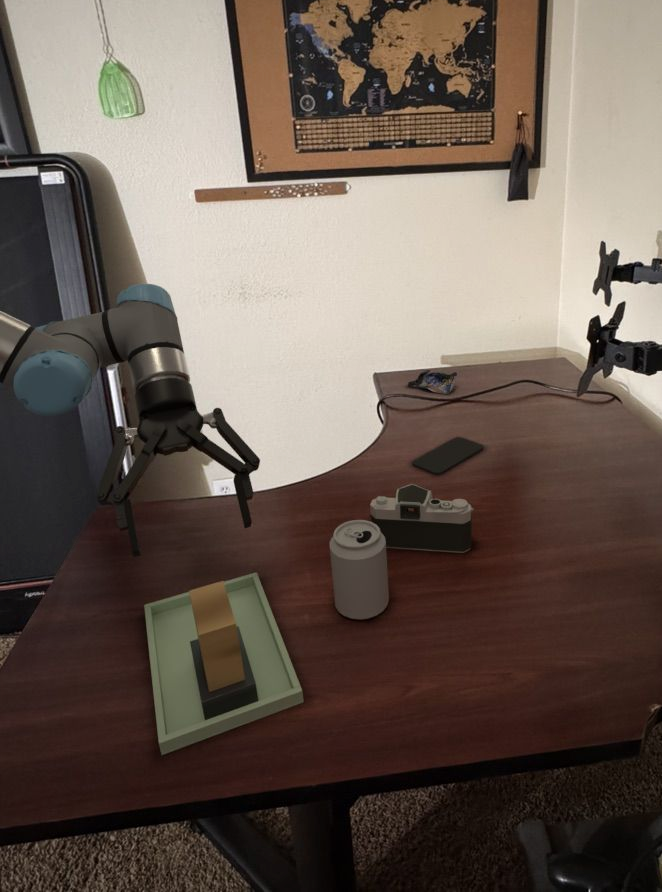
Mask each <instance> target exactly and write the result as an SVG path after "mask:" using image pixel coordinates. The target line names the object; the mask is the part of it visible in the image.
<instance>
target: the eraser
mask: <svg viewBox="0 0 662 892" xmlns="http://www.w3.org/2000/svg"><path fill="white" fill-rule="evenodd" d="M224 582H225V581H224V580H221V581H217V582H214V583H211V584H207V585H203V586H200V587H197V588H194V589H190V590H188V592H189V593H190V599H191V604H192V609H193V614H194V619H195V625H196V630H197V635H198V639H196V640H193V641H190V645H191V651H192V656H193V661H194V666H195V672H196V677H197V682H198V687H199V693H200V698H201V703H202V708H203V713H204V718H205V720H208V719H211V718H213V717H216V716H219V715H222V714H224V713H227V712H230V711H233V710H235V709H238V708H241V707H244V706H246V705H249V704H252V703H255V702H257V701H259V700H258V694H257V688H256V682H255V679H254V676H253V672H252V669H251V666H250V662H249V659H248V656H247V652H246V649H245V646H244V642H243V639H242V636H241V632H240V629H239V626H237V627H236V622H235V619H234V615H233V612H232V608H231V605H230V602H229V598H228V595H227V592H226V588H225V585H224Z"/></svg>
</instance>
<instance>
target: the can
mask: <svg viewBox="0 0 662 892" xmlns="http://www.w3.org/2000/svg"><path fill="white" fill-rule="evenodd" d="M332 535H333V536H332V537H331V539H330V541H329V555H330V565H331V576H332V588H333V596H334V597H333V598H334V599H333V600H334V607H335V609H336V610H337V612H338V613H339V614H341V615H342V616H343V617H346V618H349V619H351V620H368V619H370V618H374V617H376V616H378V615H379V614H381V613H383V612H384V611H385V609H386V608H387V607H388V605H389V601H390V593H389V575H388V557H387V556H388V555H387V548H386V541H385V537H384V535H383V534H382V533H381V532H380V528H379V527H378V526H377V525H376V524H374V523H372V522H371V520H370V521H369V520H366V519H354V520H349V521H345V522H343V523H341V524H339V525H338V526H337V527H336V528H335V529H334V531H333V534H332Z"/></svg>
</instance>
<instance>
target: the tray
mask: <svg viewBox="0 0 662 892" xmlns="http://www.w3.org/2000/svg"><path fill="white" fill-rule="evenodd" d="M224 585H225V588H226V592H227V595H228V598H229V602H230V605H231V608H232V612H233V615H234V619H235V622H236V627H237V626H239V629H240V632H241V636H242V639H243V642H244V646H245V649H246V652H247V656H248V659H249V662H250V666H251V669H252V672H253V676H254V679H255V682H256V688H257V694H258V700H259V701H257V702H255V703H252V704H249V705H246V706H244V707H241V708H238V709H235V710H233V711H230V712H227V713H224V714H222V715H219V716H216V717H213V718H211V719H208V720H205V718H204V713H203V708H202V703H201V698H200V693H199V687H198V682H197V677H196V672H195V666H194V661H193V656H192V651H191V645H190V641H193V640H196V639H198V635H197V630H196V625H195V619H194V614H193V609H192V604H191V599H190V593H189V591H188V592H187V591H186V592H183V593H180V594H177V595H173V596H170V597H166V598H163V599H159V600H156V601H153V602H150V603H145V604H144V605H143V609H144V617H145V627H146V637H147V645H148V656H149V666H150V673H151V684H152V694H153V702H154V703H153V704H154V712H155V722H156V731H157V741H158V747H159V751H160V755H161V756H164V755H167V754H169V753H171V752H174V751H177V750H180V749H182V748H185V747H188V746H190V745H193V744H195V743H198V742H201V741H203V740H206V739H209V738H212V737H214V736H217V735H221V734H222V733H226V732H227V731H228V732H229V731H230V730H233V729H236V728H238V727H241V726H244V725H246V724H249V723H252V722H254V721H258V720H261V719H262V718H265V717H268V716H271V715H273V714H276V713H278V712H281V711H284V710H286V709H289V708H292V707H294V706H297V705H300V704H302V703H304V701H305V700H304V692H303V689H302V686H301V684H300V681H299V678H298V676H297V673H296V670H295V668H294V665H293V663H292V660H291V658H290V654H289V652H288V650H287V647H286V644H285V642H284V639H283V637H282V634H281V631H280V629H279V626H278V624H277V622H276V619H275V616H274V614H273V611H272V608H271V606H270V603H269V600H268V598H267V595H266V593H265V590H264V588H263V585H262V582H261V580H260V577H259V574H258V572H253V573H249V574H245V575H242V576H239V577H236V578H232V579H228V580H225V581H224Z"/></svg>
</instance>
